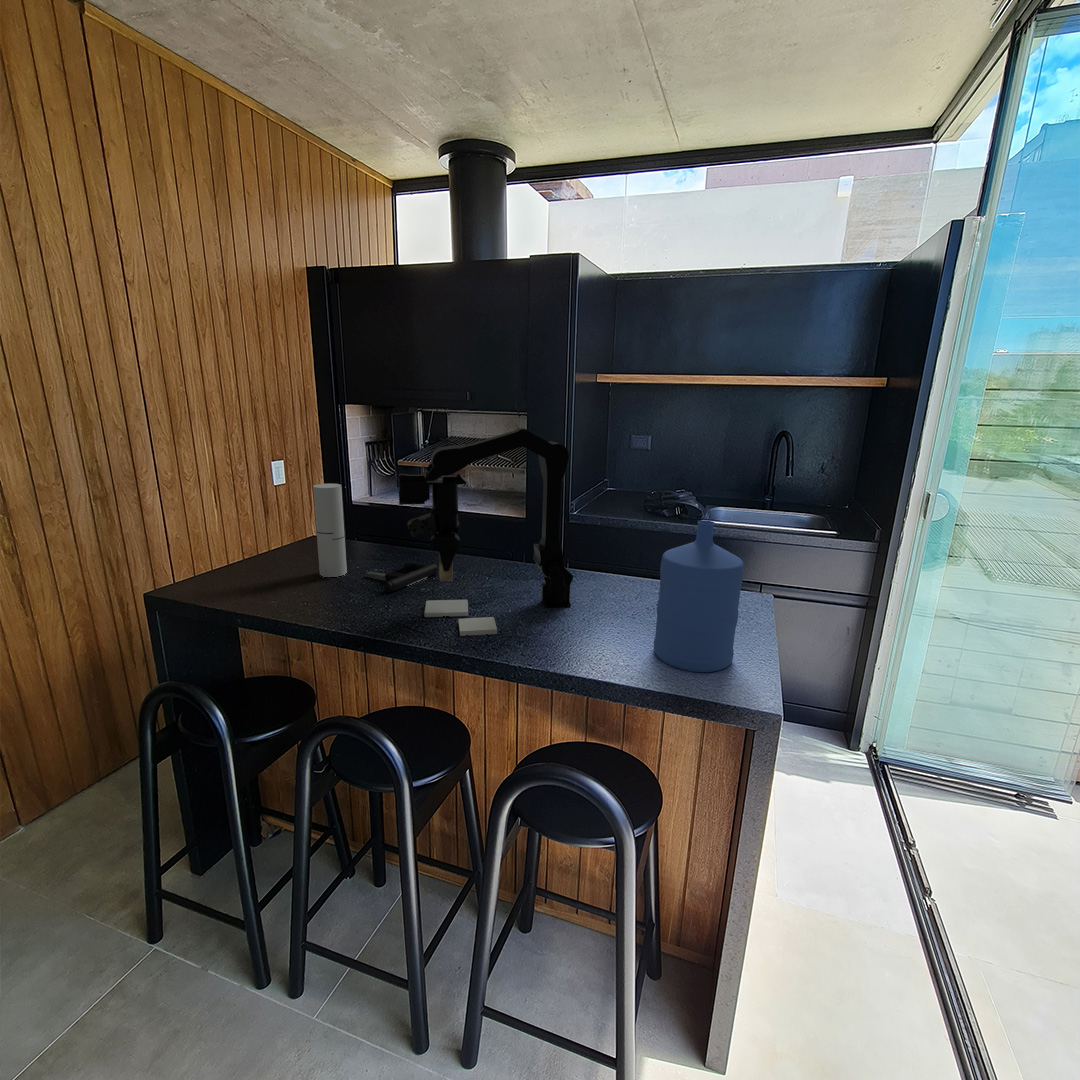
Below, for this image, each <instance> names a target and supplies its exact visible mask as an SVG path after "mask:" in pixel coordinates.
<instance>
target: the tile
mask: <svg viewBox="0 0 1080 1080" xmlns="http://www.w3.org/2000/svg"><path fill="white" fill-rule="evenodd" d="M458 629H459V630H458V631H459V636H460V637H466V635H468V637H469V636H487V635H486V634H488V635H498V627H497V624H496V620H495V617H494V616H489V617H488V616H487V617H469V618H468V617H465V618H458Z"/></svg>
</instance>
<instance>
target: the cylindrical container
mask: <svg viewBox="0 0 1080 1080" xmlns="http://www.w3.org/2000/svg"><path fill="white" fill-rule="evenodd" d="M312 488H313V489H312V490H313V503H314V504H313V505H314V515H315V526H316V527H315V530H316V542H317V544H316V545H317V553H318V567H319V576H320V575H321V576H323V577H322V578H324V577H337V578H339V577H338V576H342V575H344V576H346V575H347V574H348V569H347V567H348V566H347V554H346V553H347V552H346V539H345V537H346V536H345V523H344V522H345V521H344V508H343V507H344V506H343V505H344V504H343V492H342V491H343V490H342V489H343V488H342V484H339V483H318V484H314V485H313V486H312ZM346 573H347V574H346ZM345 574H346V575H345ZM321 576H320V577H321ZM342 577H343V576H342Z"/></svg>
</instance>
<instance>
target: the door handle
mask: <svg viewBox="0 0 1080 1080" xmlns="http://www.w3.org/2000/svg"><path fill="white" fill-rule="evenodd" d="M409 572H410V573H409ZM438 572H439V565H437V564H436V563H432V564H428V563H426V564H425V563H420V562H412V561H407V562H404V564H403V567H401V568H398V569H396V570H394V571H391V572H389V573H382V572H377V571H367V572H365V577H366V576H367V577H371V578H375V579H379V580H383V581H382V582H384V581H386V582H387V583H386V582H385V583H384V584H383V587H384V588H383V589H384V590H385V592H386V593H391V592H392V591H393V592H395V590H396V591H398V590H400V589H403V588H406V587H405V586H409V585H411V586H413V585H412V584H414V583H416V582H418V583H420V582H419V581H421V580H423V579H425V580H427V579H426V578H428V577H432V576H434V575H437V574H438ZM407 573H408V574H407ZM433 574H434V575H433ZM431 575H432V576H431ZM367 577H366V578H367ZM371 578H370V579H371ZM375 579H374V580H375ZM379 580H378V581H379ZM423 581H424V580H423ZM421 582H422V581H421ZM416 584H417V583H416ZM414 585H415V584H414ZM409 587H410V586H409ZM390 591H391V592H390ZM393 592H392V593H393Z"/></svg>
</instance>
